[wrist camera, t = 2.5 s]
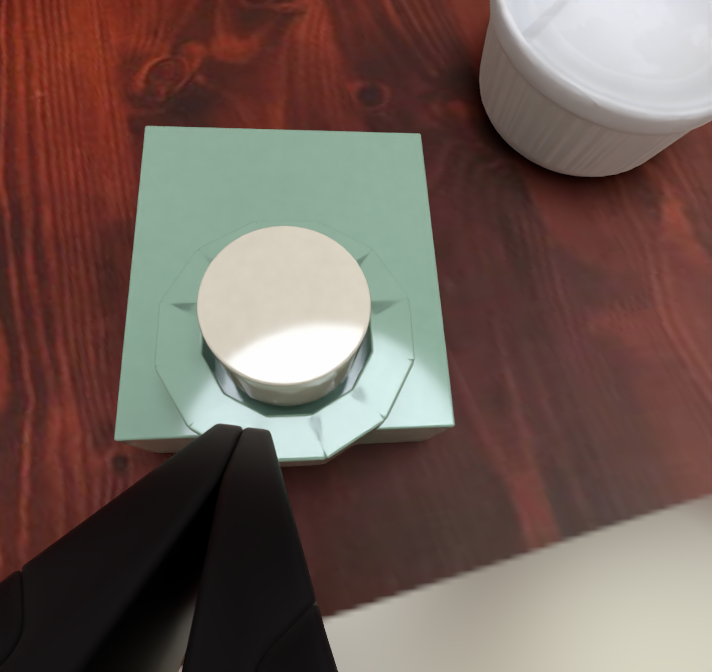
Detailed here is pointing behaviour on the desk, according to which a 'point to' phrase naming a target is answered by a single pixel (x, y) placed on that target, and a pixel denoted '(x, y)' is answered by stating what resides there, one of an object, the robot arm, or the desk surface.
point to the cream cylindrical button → (284, 313)
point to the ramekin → (596, 79)
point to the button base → (267, 209)
